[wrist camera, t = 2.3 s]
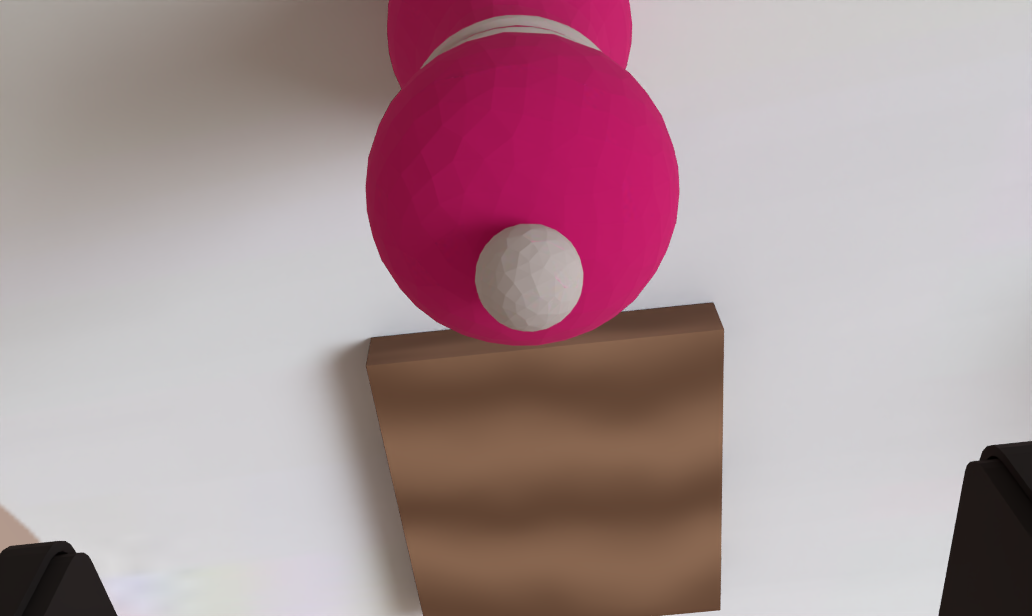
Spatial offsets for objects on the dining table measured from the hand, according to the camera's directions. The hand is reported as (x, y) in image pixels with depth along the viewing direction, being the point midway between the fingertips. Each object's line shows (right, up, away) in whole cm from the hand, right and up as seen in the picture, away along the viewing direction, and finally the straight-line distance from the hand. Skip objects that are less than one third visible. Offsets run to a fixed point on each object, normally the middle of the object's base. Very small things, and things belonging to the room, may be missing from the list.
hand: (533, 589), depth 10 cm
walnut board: (+2, -4, +32) cm, 33 cm away
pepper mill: (-1, +14, +22) cm, 26 cm away
